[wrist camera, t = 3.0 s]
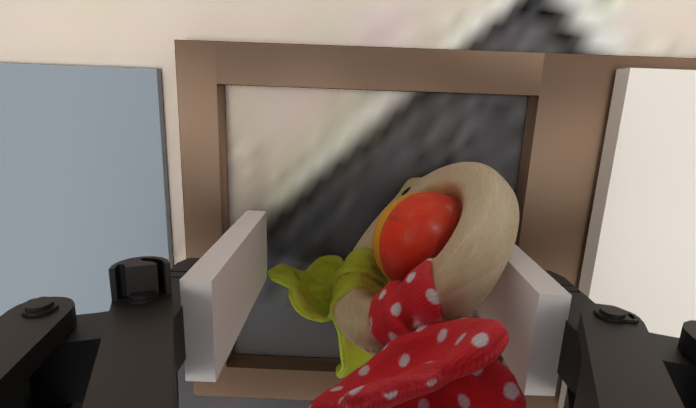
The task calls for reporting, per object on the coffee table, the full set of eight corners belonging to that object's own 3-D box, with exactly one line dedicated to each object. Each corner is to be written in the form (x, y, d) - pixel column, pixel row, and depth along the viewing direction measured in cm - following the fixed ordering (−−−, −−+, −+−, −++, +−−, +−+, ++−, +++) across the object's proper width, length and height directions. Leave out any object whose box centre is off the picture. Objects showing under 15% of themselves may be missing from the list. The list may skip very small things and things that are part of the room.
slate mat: (179, 361, 20) (175, 366, 20) (-13, 353, 20) (-20, 358, 20) (160, 69, 17) (156, 68, 17) (-65, 60, 17) (-75, 60, 17)
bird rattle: (355, 143, 20) (234, 314, 18) (487, 16, 9) (214, 417, 7) (460, 222, 20) (355, 394, 19) (700, 195, 10) (507, 598, 8)
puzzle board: (858, 410, 20) (883, 426, 19) (201, 380, 20) (193, 395, 19) (982, 71, 16) (1021, 69, 15) (184, 43, 17) (174, 39, 16)
